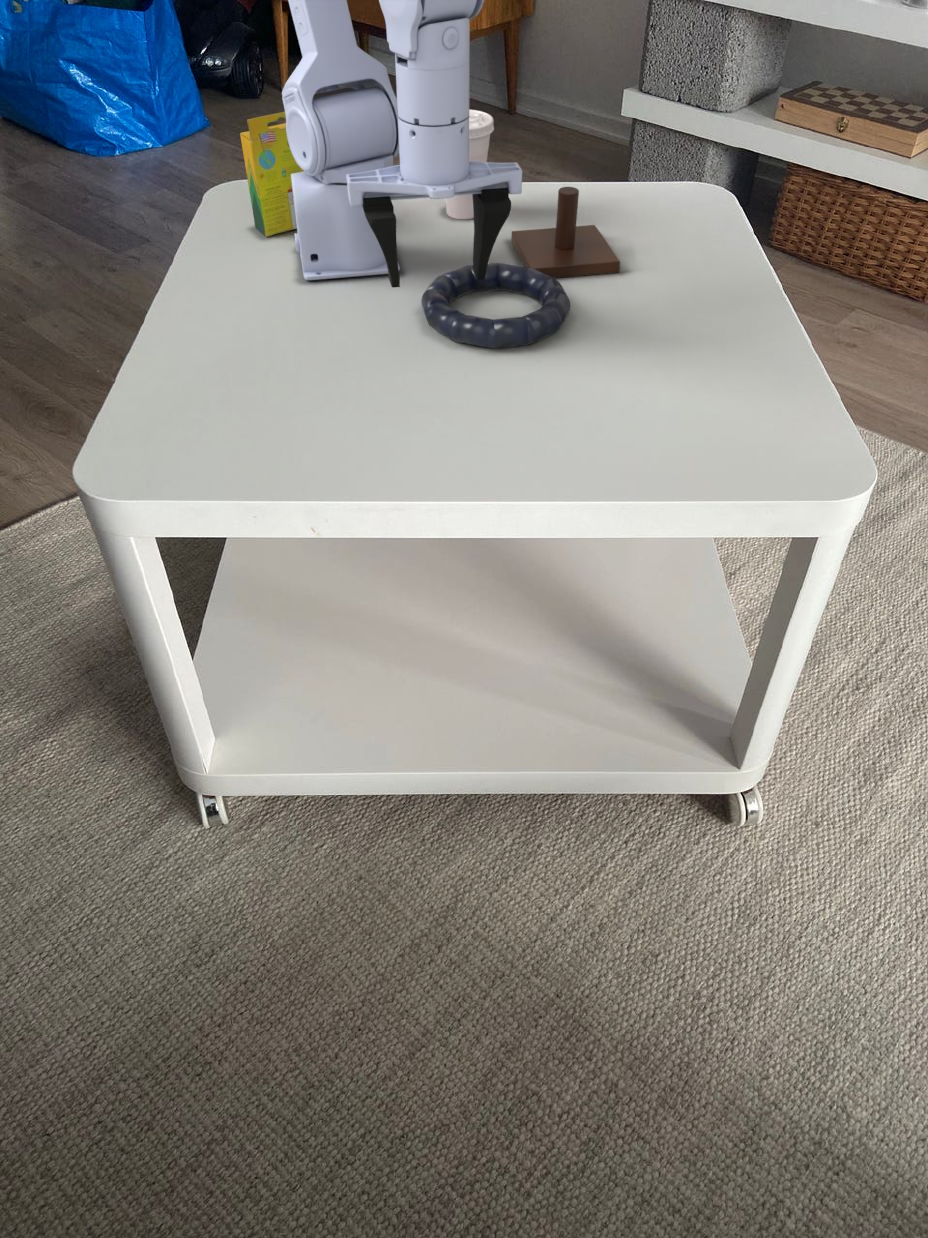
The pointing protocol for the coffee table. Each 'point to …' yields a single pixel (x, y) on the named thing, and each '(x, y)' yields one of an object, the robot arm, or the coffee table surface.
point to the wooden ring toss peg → (566, 244)
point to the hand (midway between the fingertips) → (436, 278)
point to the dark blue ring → (496, 329)
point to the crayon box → (270, 174)
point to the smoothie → (477, 152)
